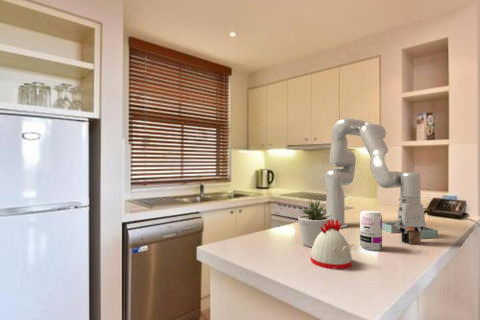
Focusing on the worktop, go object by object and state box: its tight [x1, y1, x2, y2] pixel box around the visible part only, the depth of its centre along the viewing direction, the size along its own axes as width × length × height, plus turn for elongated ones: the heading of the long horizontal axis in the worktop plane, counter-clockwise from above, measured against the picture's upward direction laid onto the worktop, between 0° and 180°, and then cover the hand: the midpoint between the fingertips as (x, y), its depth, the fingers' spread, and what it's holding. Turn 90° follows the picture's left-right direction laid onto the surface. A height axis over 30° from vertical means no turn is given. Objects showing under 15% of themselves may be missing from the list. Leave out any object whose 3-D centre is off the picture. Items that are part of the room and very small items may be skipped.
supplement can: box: [359, 209, 383, 252], centre depth 114 cm, size 8×8×15 cm
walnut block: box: [403, 230, 421, 246], centre depth 122 cm, size 5×5×5 cm
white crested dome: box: [310, 220, 353, 270], centre depth 99 cm, size 14×14×15 cm
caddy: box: [382, 221, 439, 240], centre depth 138 cm, size 15×19×4 cm
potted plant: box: [297, 198, 332, 248], centre depth 119 cm, size 13×14×20 cm
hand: (410, 241), depth 122 cm, fingers closed on walnut block, 5 cm apart
